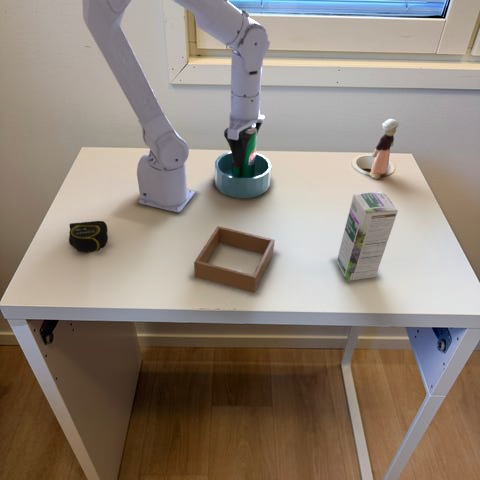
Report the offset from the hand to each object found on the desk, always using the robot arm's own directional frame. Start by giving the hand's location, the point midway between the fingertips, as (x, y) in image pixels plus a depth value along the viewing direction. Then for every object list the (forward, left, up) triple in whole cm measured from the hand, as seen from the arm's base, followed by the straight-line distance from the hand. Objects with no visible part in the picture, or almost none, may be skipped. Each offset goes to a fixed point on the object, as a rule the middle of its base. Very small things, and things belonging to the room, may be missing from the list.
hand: (243, 157), depth 100 cm
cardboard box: (+8, -27, -6) cm, 29 cm away
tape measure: (-20, -31, -6) cm, 37 cm away
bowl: (0, 0, -6) cm, 6 cm away
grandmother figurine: (+28, +16, -6) cm, 33 cm away
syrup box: (+29, -20, -6) cm, 36 cm away
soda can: (0, 0, -5) cm, 5 cm away
